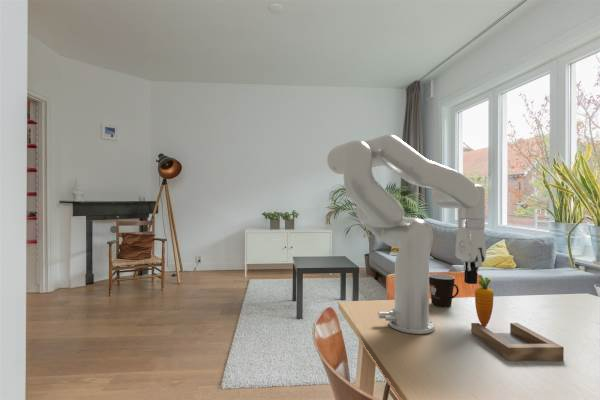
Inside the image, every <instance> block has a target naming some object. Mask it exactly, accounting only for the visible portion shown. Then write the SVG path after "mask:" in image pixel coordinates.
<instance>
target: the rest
mask: <svg viewBox="0 0 600 400" xmlns="http://www.w3.org/2000/svg"><path fill="white" fill-rule="evenodd" d="M470 324H471V325H470V327H471V329H470V330H471V331H470V332H471V333H470V334H471V335H472V336H473V337H475V338H476V339H477V340H479V341H480V342H481V343H483V344H484V345H486V346H487V347H489V348H490V349H491V350H493V352H496V353H497V354H498V355H500V356H501V357H502V358H504V359H505V360H507V361H508V362H511V361H512V362H515V361H516V362H520V361H522V362H523V361H526V362H527V361H530V362H531V361H532V362H533V361H564V359H565V358H564V354H565V353H564V346H562V345H560V344H558V343H556V342H555V341H553V340H550V339H549V338H547V337H545V336H543V335H541V334H539V333H537V332H535V331H534V330H532V329H530V328H528V327H526V326H524V325H522V324H521V323H518V322H510V323H509V324H510V327H509V328H510V329H509V330H510V331H509V332H493V331H492V330H490V329H489V328H487V327H484V326H482V325H481V323H480V322H471V323H470Z"/></svg>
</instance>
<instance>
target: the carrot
mask: <svg viewBox="0 0 600 400" xmlns="http://www.w3.org/2000/svg"><path fill="white" fill-rule="evenodd" d="M478 277H479V280H477V284H479V285H480V286H481V287H477V288H476V289H475V291H474V301H475V309H476V316H477V318H478V321H479V324H481V325H482V326H484V327H485V328H487V326H488V323H490V320H491V317H492V313H493V309H494V308H493V307H494V291H493V289H491V288H488V286H489V284H490V282H491V280H492V279H491V278H488V277H487V276H485V277H483V274H478Z"/></svg>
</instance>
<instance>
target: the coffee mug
mask: <svg viewBox="0 0 600 400" xmlns="http://www.w3.org/2000/svg"><path fill="white" fill-rule="evenodd" d="M455 278H456V277H455V276H453V275H449V274H443V273H432V274H431V273H429V294H430V300H431V305H432V306H434V307H437V308H451V307H452V302H453V299H454V298H456V297H457V296H458V295H459V292H460V291H459V287H458V285H457V284H455V280H456V279H455ZM454 287H455V289H456V292H455V293H454ZM453 293H454V294H453Z"/></svg>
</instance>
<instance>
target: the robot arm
mask: <svg viewBox="0 0 600 400" xmlns="http://www.w3.org/2000/svg"><path fill="white" fill-rule="evenodd" d="M326 160H327V161H326V162H327V165H328V168H329V169H330V171H332V172H333V173H334V174H338V175H343V183H344V189H345V192H346V194H347V195H348V197H349V198H350V200H352V202H354V203H355V204H356V211H355V212H356V216H357V218H358V221H359V222H360V223H361V225H363V227H365V228H366V229H367V230H368V231H369V232H370V233H372V234H373V235H374V236H376V238H378V240H380V241H381V242H382V243H384V244H385V245H387V246H390V247H393V248H397V249H398V252H397V254H396V258H395V262H394V307H391V310H388V311H378V315H377V316H378V319H380V320H381V319H384V321H385V322H387V321H388V324H389V326H390V327H391V328H392V329H394V330H396V331H399V332H402V333H407V334H413V335H423V334H430V333H432V332H434V331H435V323H434V322H433V321H431V320H430V284H429V275H430V258H431V257H430V256H431V252H432V251H431V250H432V246H433V240H434V233H433V229H432V227H431V226H430V224H429V223H428V222H427V221H426V220H424V219H421V218H418V217H407V216H405V209H404V207H403V205H402V203H400V201H398V199H397V198H396V197H394V196H393V195H392V194H391V193H389V192H388V190H386V188H384V186H382V185H381V184H380V183H379V182H378V181H377V180H376V178H375V176H374V174H373V168H376V167H382V166H383V167H385V168H386V169H388V170H390V171H392V172H393V173H394V174H396V175H397V176H399V177H400V178H401V179H402V180H404V181H405V182H407V183H409V184H410V185H412V186H413V185H414V186H416V187H417V186H418V187H421V188H427V189H432V193H431V200H432V202H433V203H434V204H435V205H436V206H437V207H439V208H442V209H457V231H456V239H455V251H454V252H455V257H456V259H458V260H460V262H461V263H463V270H464V281H463V282H464V283H466V284H468V285H476V284H478V271H479V268H481V267H483V263H484V262H486V258H487V257H486V255H487V249H486V248H487V246H486V235H485V230H486V229H485V227H486V224H485V221H486V220H485V219H486V218H485V216H486V214H485V213H486V208H485V207H486V203H485V202H486V198H485V197H486V192H485V187H484V186H483V185H481V184H475V183H474V182H473V181H471V180H470V179H469V178H467V177H466V176H465V175H464V174H463V173H462V172H459V171H457V170H455V169H453V168H450V167H448V166H445V165H443V164H440V163H438V162H435V161H432V160H431V159H430V160H429V159H428V158H426V157H425V156H423V155H422V154H420V153H419V152H418V151H417V150H415V149H414V148H413V147H411V146H410V145H409V144H408V143H406V142H405V141H403V140H402V139H401V138H400V137H398V136H396V135H394V134H383V135H380V136H378V137H375V138H372V139H368V140H361V139H359V140H358V139H356V140H350V141H348V142H345V143H343V144H340V145H337V146H334V147H333V148H332V149H330V151H329V153H328V154H327V159H326Z"/></svg>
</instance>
